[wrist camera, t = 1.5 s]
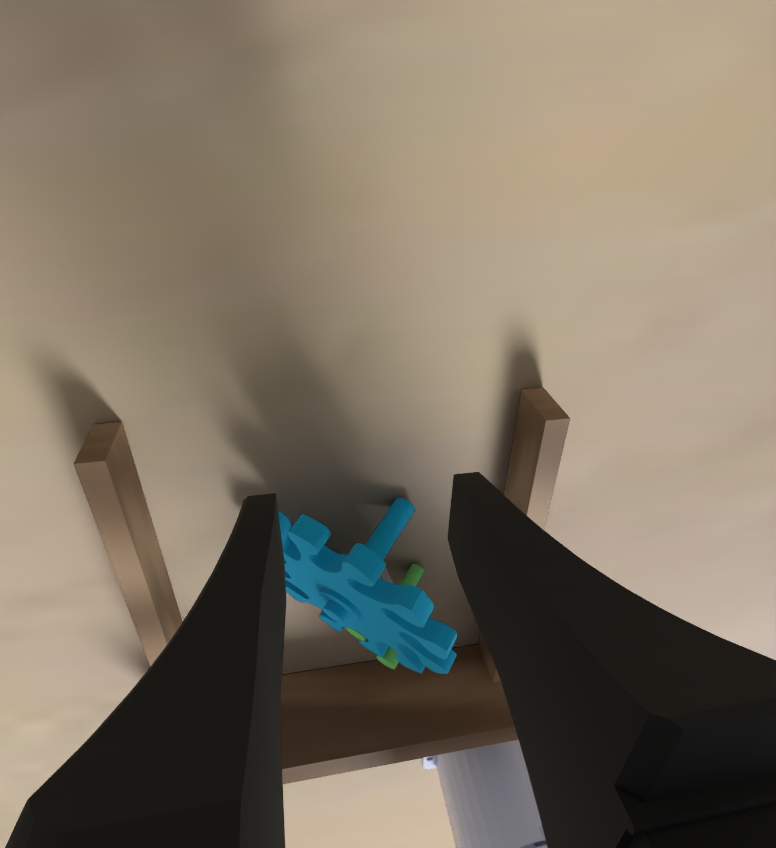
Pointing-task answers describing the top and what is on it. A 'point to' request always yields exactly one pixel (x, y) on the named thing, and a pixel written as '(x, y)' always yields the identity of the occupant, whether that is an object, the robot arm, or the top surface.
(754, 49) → the top surface
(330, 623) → the gear
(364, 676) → the wooden u-shaped frame
